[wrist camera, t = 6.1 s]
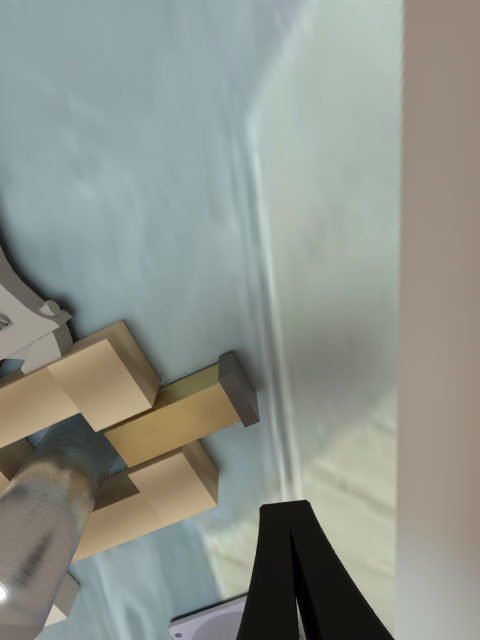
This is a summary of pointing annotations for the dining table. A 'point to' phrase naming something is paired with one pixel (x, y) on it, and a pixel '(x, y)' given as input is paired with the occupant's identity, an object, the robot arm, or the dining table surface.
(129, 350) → the socket block
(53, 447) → the grey cylinder
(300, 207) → the dining table surface
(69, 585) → the white square frame
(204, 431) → the key
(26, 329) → the adjustable wrench
